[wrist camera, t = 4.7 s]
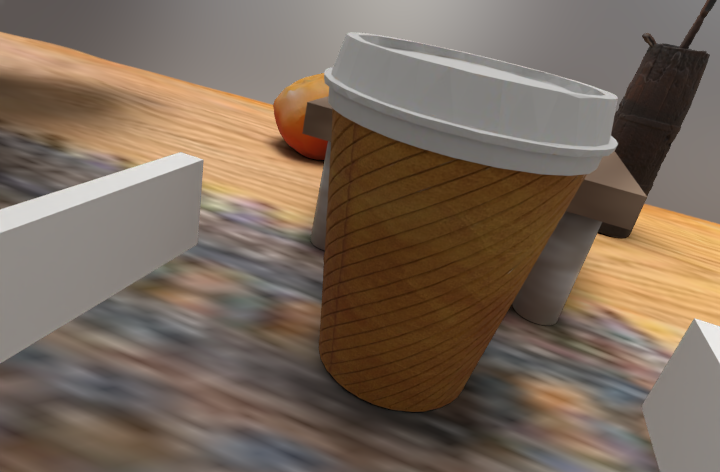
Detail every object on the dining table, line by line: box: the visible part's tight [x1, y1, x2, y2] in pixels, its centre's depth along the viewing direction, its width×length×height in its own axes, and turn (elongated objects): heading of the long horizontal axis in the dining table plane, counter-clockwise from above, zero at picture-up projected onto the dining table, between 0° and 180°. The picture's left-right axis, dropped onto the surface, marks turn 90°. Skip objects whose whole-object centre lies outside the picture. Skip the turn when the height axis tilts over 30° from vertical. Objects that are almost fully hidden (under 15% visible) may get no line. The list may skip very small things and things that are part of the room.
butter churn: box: [598, 0, 716, 238], centre depth 37 cm, size 9×10×28 cm
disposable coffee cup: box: [319, 32, 618, 412], centre depth 18 cm, size 10×10×12 cm
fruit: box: [273, 73, 329, 160], centre depth 44 cm, size 8×8×8 cm
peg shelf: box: [302, 96, 647, 325], centre depth 31 cm, size 16×14×8 cm
